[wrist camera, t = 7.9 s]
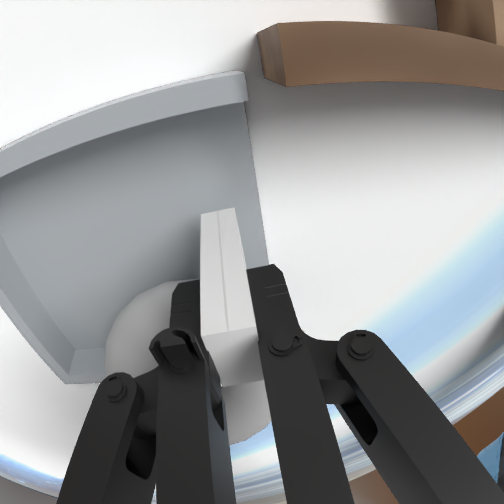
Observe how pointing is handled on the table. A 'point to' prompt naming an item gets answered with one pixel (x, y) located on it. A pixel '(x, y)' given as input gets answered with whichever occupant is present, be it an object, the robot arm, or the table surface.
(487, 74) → the t rack
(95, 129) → the tray
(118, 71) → the table surface
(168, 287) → the donut
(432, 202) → the table surface
